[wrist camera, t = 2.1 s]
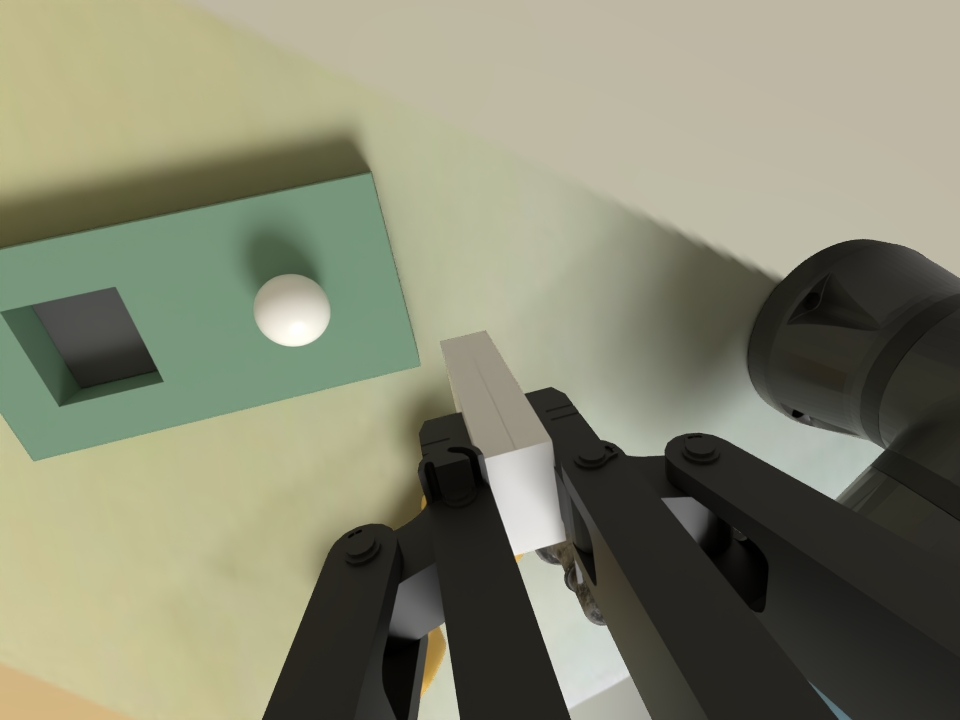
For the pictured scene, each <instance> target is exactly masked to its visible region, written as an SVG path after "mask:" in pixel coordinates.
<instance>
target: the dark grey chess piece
mask: <svg viewBox="0 0 960 720" xmlns="http://www.w3.org/2000/svg"><path fill="white" fill-rule="evenodd" d="M564 528H565V535H566V541H563V542H560V543H556V544H553V545H550V546H546V547H543V548H539V549H536V550H535V551H536V553H537V555H538V556H539V557H540V558H541V559H542V560H544V561H545V562H547V563H550V564H554V565H562V567H563V569H564V571H565V575H564V581H565V584H566V586H567V587H568V588H569V589H570V590H572V591H573V592H575V593H576V596H577V598H578V600H579V602H580V605H581V607H582V609H583V611H584V614H585V616H586V617H587V618H588V619H589V621H590V622H592V623H594V624H596V625H600V626H601V625H606V623H605V621H604V619H603V617H602V614H601V612H600V610H599V608H598V606H597V604H596V602H595V600H594V598H593V596H592V594H591V592H590V589H589V587H588V585H587V583H586V581H585V579H584V577H583V575H582V578H583V583H580V584H578V581H577V576H576V569H575V561H574V554H573V547H572V540H571V537H570V535H569V533H568V531H567V529H566V527H565V525H564Z"/></svg>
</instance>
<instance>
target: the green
mask: <svg viewBox="0 0 960 720" xmlns="http://www.w3.org/2000/svg"><path fill="white" fill-rule="evenodd" d="M285 274H297V275H302V276H305V277H307V278H309V279H311V280H313V281H314V282H316V283H317V284H318V285H319V286H320V287H321V288H322V289H323V290H324V292H325V294H326V295H327V297H328V300H329V303H330V309H331V311H330V320H329V323H328V325H327V327H326V329H325V331H324V332H323V333H322V335H321V336H320V337H318V338H317V339H316V340H314V341H313V342H311V343H309V344H306V345H302V346H295V347H292V346H284V345H280V344H278V343H275V342H274V341H272V340H270V339H269V338H267V337H266V336H265V335H264V334H263V333H262V331H261V330H260V329H259V327H258V325H257V323H256V321H255V318H254V310H253V307H254V301H255V297H256V295H257V293H258V291H259V290H260V288H261V287H262V286H263V285H264V284H265V283H266V282H267V281H269V280H270V279H272V278H274V277H276V276H280V275H285ZM418 366H421V365H420V360H419V355H418V350H417V347H416V343H415V339H414V335H413V331H412V327H411V323H410V319H409V316H408V312H407V308H406V304H405V300H404V296H403V292H402V288H401V285H400V281H399V277H398V273H397V269H396V265H395V261H394V257H393V253H392V250H391V246H390V242H389V238H388V234H387V230H386V226H385V222H384V219H383V215H382V211H381V207H380V203H379V199H378V195H377V191H376V188H375V184H374V180H373V176H372V172H371V171H370V172H366V173H361V174H356V175H351V176H346V177H341V178H336V179H332V180H327V181H322V182H317V183H312V184H307V185H302V186H298V187H293V188H288V189H283V190H278V191H273V192H269V193H264V194H259V195H254V196H249V197H244V198H239V199H235V200H230V201H225V202H220V203H215V204H210V205H206V206H201V207H196V208H191V209H186V210H181V211H176V212H172V213H167V214H162V215H157V216H152V217H147V218H142V219H138V220H133V221H128V222H123V223H118V224H113V225H109V226H104V227H99V228H94V229H89V230H84V231H79V232H75V233H70V234H65V235H60V236H55V237H50V238H46V239H41V240H36V241H31V242H26V243H21V244H16V245H12V246H7V247H2V248H0V413H1V415H2V416H3V418H4V419H5V421H6V422H7V423H8V425H9V426H10V428H11V429H12V431H13V432H14V434H15V435H16V437H17V438H18V439H19V441H20V442H21V444H22V445H23V447H24V448H25V450H26V451H27V453H28V454H29V455H30V457H31V458H32V460H33V461H37V460H41V459H45V458H49V457H53V456H58V455H62V454H66V453H70V452H74V451H78V450H82V449H86V448H90V447H94V446H98V445H102V444H106V443H110V442H114V441H118V440H122V439H126V438H130V437H135V436H139V435H143V434H147V433H151V432H155V431H159V430H163V429H167V428H171V427H175V426H179V425H183V424H187V423H191V422H195V421H199V420H203V419H207V418H212V417H216V416H220V415H224V414H228V413H232V412H236V411H240V410H244V409H248V408H252V407H256V406H260V405H264V404H268V403H272V402H276V401H280V400H284V399H289V398H293V397H297V396H301V395H305V394H309V393H313V392H317V391H321V390H325V389H329V388H333V387H337V386H341V385H345V384H349V383H353V382H357V381H361V380H365V379H370V378H374V377H378V376H382V375H386V374H390V373H394V372H398V371H402V370H406V369H410V368H414V367H418ZM155 370H157V371H155ZM151 371H153V372H151ZM146 372H149V373H146ZM142 373H145V374H142ZM138 374H140V375H138ZM134 375H136V376H134ZM129 376H132V377H129ZM125 377H128V378H125ZM121 378H123V379H121ZM117 379H119V380H117ZM112 380H115V381H112ZM108 381H111V382H108ZM104 382H106V383H104ZM100 383H102V384H100ZM95 384H98V385H95ZM91 385H94V386H91ZM87 386H89V387H87ZM83 387H85V388H83Z"/></svg>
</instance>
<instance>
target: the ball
mask: <svg viewBox="0 0 960 720" xmlns="http://www.w3.org/2000/svg"><path fill="white" fill-rule="evenodd" d="M253 310H254V318H255V321H256V323H257V325H258V327H259V329H260V330H261V331H262V333H263V334H264V335H265V336H266V337H267V338H269V339H270V340H272V341H274V342H275V343H278V344H280V345H284V346H292V347H295V346H302V345H306V344H309V343H311V342H313V341H314V340H316V339H317V338H318V337H320V336H321V335H322V333H323V332H324V331H325V329H326V327H327V325H328V323H329V320H330V311H331V309H330V303H329V300H328V297H327V295H326V294H325V292H324V290H323V289H322V288H321V287H320V286H319V285H318V284H317V283H316V282H314V281H313V280H311V279H309V278H307V277H305V276H302V275H297V274H285V275H280V276H276V277H274V278H272V279H270V280H269V281H267V282H266V283H265V284H264V285H263V286H262V287H261V288H260V290H259V291H258V293H257V295H256V297H255V301H254V307H253Z"/></svg>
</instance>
